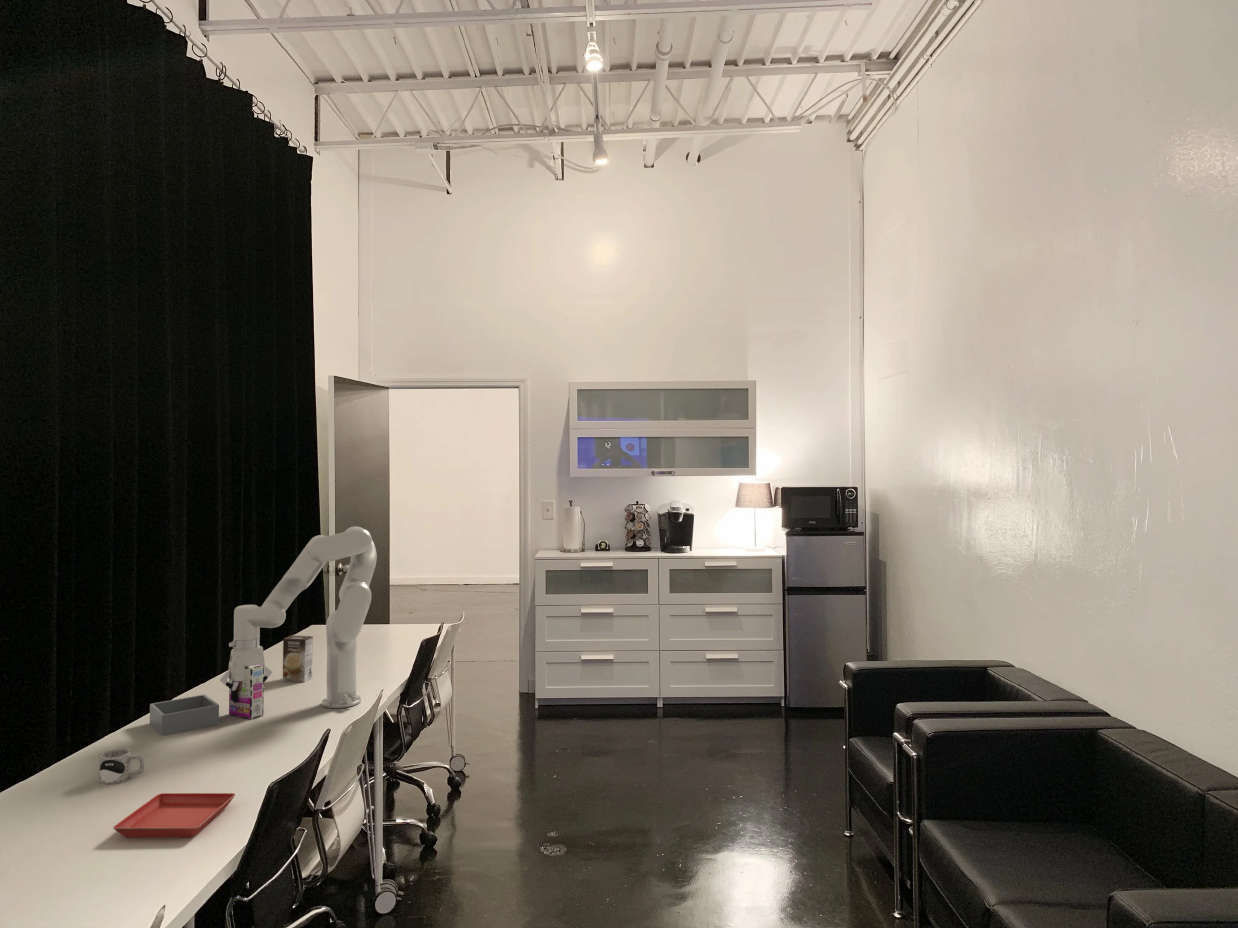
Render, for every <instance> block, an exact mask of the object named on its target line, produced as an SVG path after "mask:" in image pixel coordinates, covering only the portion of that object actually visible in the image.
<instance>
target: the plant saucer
mask: <svg viewBox="0 0 1238 928" xmlns="http://www.w3.org/2000/svg"><path fill="white" fill-rule="evenodd" d="M235 796H236V793H234V792H231V793H230V792H229V793H228V792H226V793H225V792H223V793H221V792H219V793H218V792H217V793H216V792H214V793H213V792H211V793H208V792H202V793H201V792H191V793H190V792H188V793H187V792H184V793H183V792H174V793H173V792H172V793H171V792H169V793H168V792H166V793H165V792H164V793H163V792H162V793H158V794H157V795H155V796H154V797H152V798H151V799H149V800H148V801H146V802H145V803H143V804H142V805H141V806H140V807H138V808H137V809H135V810H134V811H133V812H131V814H128V815H127V816H126V817H125V818H123V819H122V820H121V821H119V822H118V823H116V824H115V825H114V826H113V830H115V831H116V832H117V833H118V834H120V835H121V836H123V837H125V838H127V839H128V838H133V839H135V838H136V839H137V838H139V839H140V838H141V839H143V838H144V839H145V838H147V839H148V838H154V839H155V838H193V837H195V836H197V834H199V833H200V832H201V831H202V830H203V829H204V828H206V826H208V824H209V823H211V822H212V821H213V820H214V819H215V818H216V817H217V816H219V815H220V814H221V813H222V812H223V811H224V810H225V809H226V808H227V807H228V806H229V804H230V803H232V801H233V799H234V797H235Z"/></svg>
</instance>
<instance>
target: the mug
mask: <svg viewBox="0 0 1238 928" xmlns="http://www.w3.org/2000/svg"><path fill="white" fill-rule="evenodd" d="M131 760H139V768H138V769H135V770H134V769H132V770H131ZM98 765H99V766H98V767H99V769H98V772H99V777H98V779H99V780H98V781H99V784H100V785H115V784H120V783H123V782H125V781H128V780H130V779H131V777H132V776H135V775H139V774H142V773H143V772H144V770H145V758H144V755H142V754H136V753H135V754H134V753H133V754H132V753H131V749H129V748H116V749H110V750H107V751H105V752H102V753H100V754H99V763H98Z"/></svg>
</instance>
